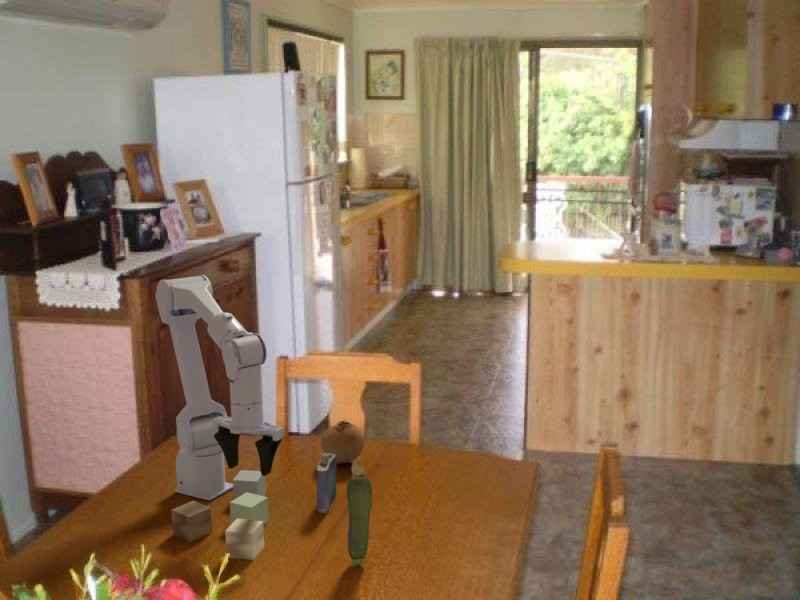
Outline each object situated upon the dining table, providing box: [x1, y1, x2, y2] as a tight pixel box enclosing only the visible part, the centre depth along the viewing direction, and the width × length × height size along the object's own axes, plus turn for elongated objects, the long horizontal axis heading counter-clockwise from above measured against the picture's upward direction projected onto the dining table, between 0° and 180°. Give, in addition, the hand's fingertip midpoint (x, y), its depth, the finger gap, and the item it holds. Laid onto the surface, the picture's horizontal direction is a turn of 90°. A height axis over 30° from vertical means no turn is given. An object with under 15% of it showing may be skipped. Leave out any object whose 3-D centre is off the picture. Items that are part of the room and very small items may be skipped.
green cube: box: [229, 492, 270, 526], centre depth 167 cm, size 5×5×5 cm
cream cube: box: [224, 518, 265, 561], centre depth 156 cm, size 5×5×5 cm
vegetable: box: [346, 455, 373, 567], centre depth 151 cm, size 4×4×20 cm
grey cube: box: [232, 469, 266, 500], centre depth 178 cm, size 5×5×5 cm
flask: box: [316, 451, 337, 515], centre depth 175 cm, size 9×3×11 cm, turn 172°
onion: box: [320, 420, 365, 465], centre depth 195 cm, size 10×9×10 cm
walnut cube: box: [170, 500, 213, 544], centre depth 163 cm, size 5×5×5 cm
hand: (249, 470), depth 166 cm, fingers open, 7 cm apart
